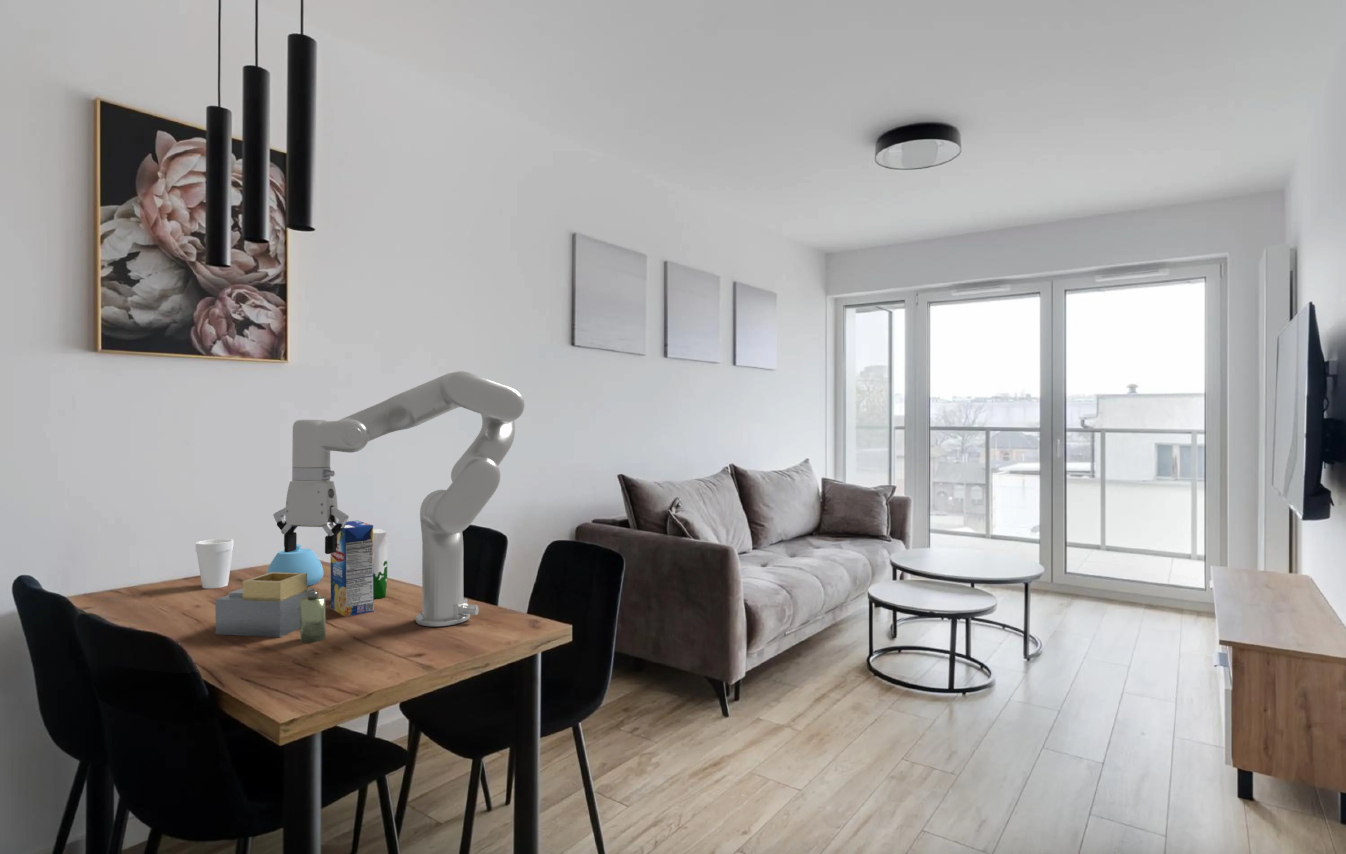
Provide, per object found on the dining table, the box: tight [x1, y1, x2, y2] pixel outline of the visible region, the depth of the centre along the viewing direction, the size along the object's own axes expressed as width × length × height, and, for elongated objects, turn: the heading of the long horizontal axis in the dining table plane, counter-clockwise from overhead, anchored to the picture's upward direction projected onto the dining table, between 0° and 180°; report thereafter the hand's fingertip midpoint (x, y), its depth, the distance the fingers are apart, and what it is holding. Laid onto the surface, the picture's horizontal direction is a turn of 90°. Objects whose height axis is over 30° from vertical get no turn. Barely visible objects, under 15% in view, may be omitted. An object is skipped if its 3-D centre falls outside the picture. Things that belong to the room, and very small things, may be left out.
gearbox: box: [214, 572, 315, 638], centre depth 166 cm, size 16×12×12 cm
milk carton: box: [373, 528, 388, 600], centre depth 195 cm, size 9×9×20 cm
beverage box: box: [330, 520, 375, 618], centre depth 182 cm, size 7×11×22 cm, turn 43°
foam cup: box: [195, 538, 235, 589], centre depth 207 cm, size 10×9×13 cm
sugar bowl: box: [266, 543, 324, 587], centre depth 210 cm, size 15×15×12 cm
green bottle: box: [299, 590, 327, 644], centre depth 158 cm, size 5×5×10 cm
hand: (310, 552), depth 158 cm, fingers open, 9 cm apart
